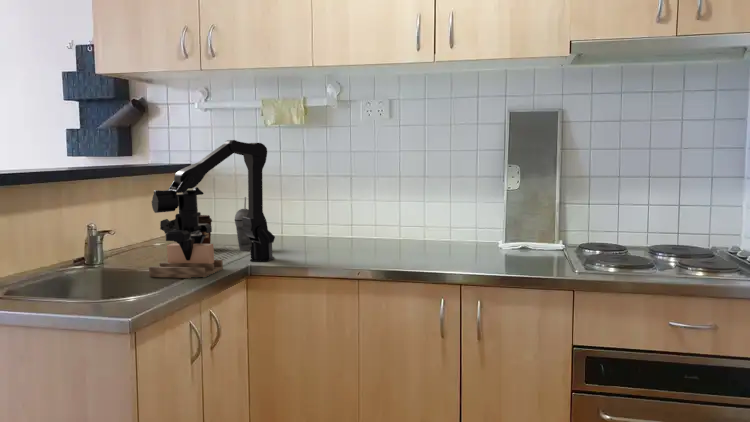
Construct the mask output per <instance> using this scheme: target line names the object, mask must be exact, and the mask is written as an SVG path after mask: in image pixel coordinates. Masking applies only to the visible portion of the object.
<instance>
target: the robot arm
mask: <svg viewBox="0 0 750 422" xmlns="http://www.w3.org/2000/svg"><path fill="white" fill-rule="evenodd" d="M234 154H236V155H239V156H240V155H241V156H243V160H244V163H245V166H246V168H247V176H248V177H247V185H248V187H247V190H248V192H247V193H248V196H247V197H248V199H247V200H248V201H247V202H248V203H247V204H248V208H247V209H248V214H247V216H246V217H242V221H243V227H242V229H244V233H245V234H246V235H247V236H248V238H249V240H250V241H252V243H251V245H252V246H251V247H250V251H249V252H250V260H249V262H270V261H272V260H274V259H275V256H274V255H273V243H274V241H275V239H276V236H275V235H274V234H272V232H271V231H270V230H269V228H268V224H267V223H268V222H267V219H266V217H265V214H264V211H263V210H264V209H263V208H264V206H263V205H264V204H263V201H264V200H263V197H264V196H263V195H264V194H263V193H264V192H263V169H264V167H265V164H266V162H267V156H268V148H267V146H266V145H265V144H264V143H262V142H245V141H244V142H243V141H238V140H236V139H228V140H225V141H224V142H223V144H222V145H220V146H218V147H217V148H215V150H213V151H212V152H210V153H209V154H207V155H206V156H204V157H203V158H202V159H200V160H199V161H198V162H196V163H193V164H190V165H188V166H186V167H183V168H181V169H180V170H178V171H177V172H175V174H174V180H173V182H172V183H171V185H169V188H168V189H166V190H159V189H156V190H153V195H152V200H151V208H152V210H153V213H155V214H160V213H169V212H175V211H176V209H177V210H178V213H176V214H175V216H174V217H175V218H174V219H172V220H171V219H170V220H169V219H167V218H164V219H162V220H160V221H159V222H160V223H159V225H160V228H159V229H160V231H162V232H164V234H165V241H166V242H173V243H177V244H179V245H180V247H181V249H182V251H183V253H184V256H185V258H186V260H190V258H191V254H192V249H193V245H194V244H202V242H203V240H204V238H205V237H206V235H202V233H201V232H206V233H210V232H211V233H212V232H213V229H212V224H211V225H210V224H198V216H200V215H202V213H201V212H200V211H198V196H199V195H201V196H202V195H204V191H202V190H201V189H200V188H199V187H198V185H199V183H200V182H202V181H203V179H204V177H205V176H206V175H207V174H208V173H209V172H210V171H211V170H213V169H214V168H215V167H217V166H218V165H220V164H221V163H222V162H223V161H225V160H226V159H228V158H229V157H230V156H232V155H234Z"/></svg>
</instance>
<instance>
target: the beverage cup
mask: <svg viewBox="0 0 750 422" xmlns="http://www.w3.org/2000/svg"><path fill="white" fill-rule="evenodd" d="M246 206H247V197H246V196H245V197H244V207H243V208H240V209H239V210H237V212H236V213H235V216H234V224H235V228H236V234H237V243H238V247H239V251H240V252H247V251H249V252H250V247H251V246H252V245H251V243H252V241H250V240H249V238H248V236H247V235H246V234H245V233H244V229H242V227H243V221H242V217H246V216H247V214H248V208H247V207H246Z"/></svg>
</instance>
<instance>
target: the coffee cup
mask: <svg viewBox="0 0 750 422" xmlns="http://www.w3.org/2000/svg"><path fill="white" fill-rule="evenodd" d="M212 222H213V219H212V218H211V215H208V214H201V215H200V216H198V224H210V225H211V226H212ZM201 233H202V235H206V237H205V238H204V240H203V242H202V244H212V243H211V241H212V240H211V239H212V238H211V237H212V236H211V235H212V232H210V233H206V232H201Z"/></svg>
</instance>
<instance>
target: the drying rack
mask: <svg viewBox="0 0 750 422" xmlns="http://www.w3.org/2000/svg"><path fill="white" fill-rule="evenodd" d="M223 269H224V265H223V259H214V263H212V264H202V263H168V262H160V263H159V266H149V267H148V273H149V278H180V279H181V278H184V279H189V278H190V279H192V278H191V277H205V278H207V277H206V276H208V275H210V274H212V275H214V274H216V273H218V272H220V271H222V270H223ZM219 270H220V271H219ZM217 271H218V272H217ZM215 272H216V273H215ZM213 273H214V274H213ZM210 276H211V275H210ZM208 277H209V276H208Z"/></svg>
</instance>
